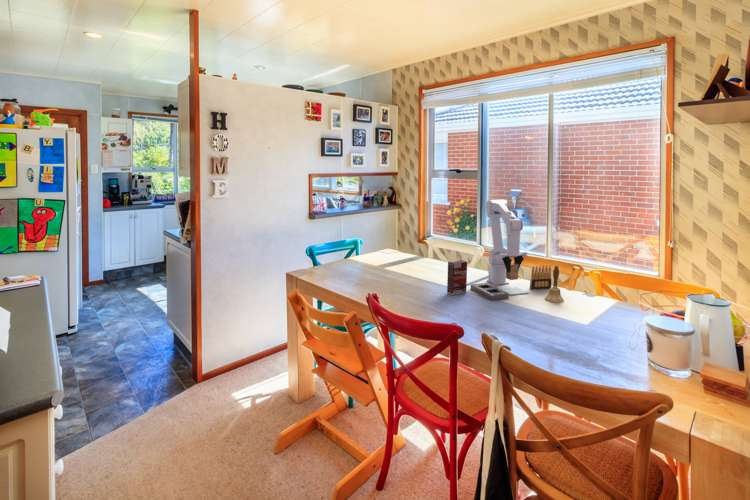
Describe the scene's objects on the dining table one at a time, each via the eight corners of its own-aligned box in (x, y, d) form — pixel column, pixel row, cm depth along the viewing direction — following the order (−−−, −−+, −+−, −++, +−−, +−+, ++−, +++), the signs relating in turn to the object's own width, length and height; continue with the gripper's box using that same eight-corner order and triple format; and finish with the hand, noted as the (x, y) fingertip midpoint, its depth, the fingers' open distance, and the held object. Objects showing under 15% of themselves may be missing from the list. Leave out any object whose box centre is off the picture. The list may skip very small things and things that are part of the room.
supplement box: (453, 295, 202) (453, 263, 199) (446, 293, 206) (447, 261, 203) (467, 293, 206) (467, 261, 202) (460, 290, 210) (461, 259, 207)
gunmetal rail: (470, 289, 212) (470, 284, 211) (486, 287, 214) (486, 282, 214) (491, 300, 193) (491, 295, 192) (508, 298, 195) (508, 293, 195)
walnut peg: (505, 277, 205) (506, 263, 204) (513, 277, 206) (513, 262, 205) (510, 280, 202) (511, 264, 200) (517, 279, 203) (518, 264, 201)
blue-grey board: (499, 289, 209) (499, 288, 209) (516, 288, 212) (516, 286, 212) (510, 295, 200) (510, 294, 200) (528, 293, 202) (528, 292, 202)
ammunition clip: (531, 289, 209) (532, 266, 206) (529, 288, 211) (530, 265, 208) (551, 288, 210) (552, 265, 208) (549, 287, 212) (550, 264, 210)
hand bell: (567, 300, 191) (570, 266, 188) (555, 303, 187) (558, 269, 184) (552, 296, 198) (554, 263, 195) (540, 299, 194) (542, 265, 191)
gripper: (504, 246, 195) (503, 274, 198) (531, 244, 199) (530, 272, 201) (496, 244, 202) (495, 271, 204) (523, 242, 205) (521, 268, 208)
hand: (512, 271), depth 203 cm, fingers closed on walnut peg, 4 cm apart
